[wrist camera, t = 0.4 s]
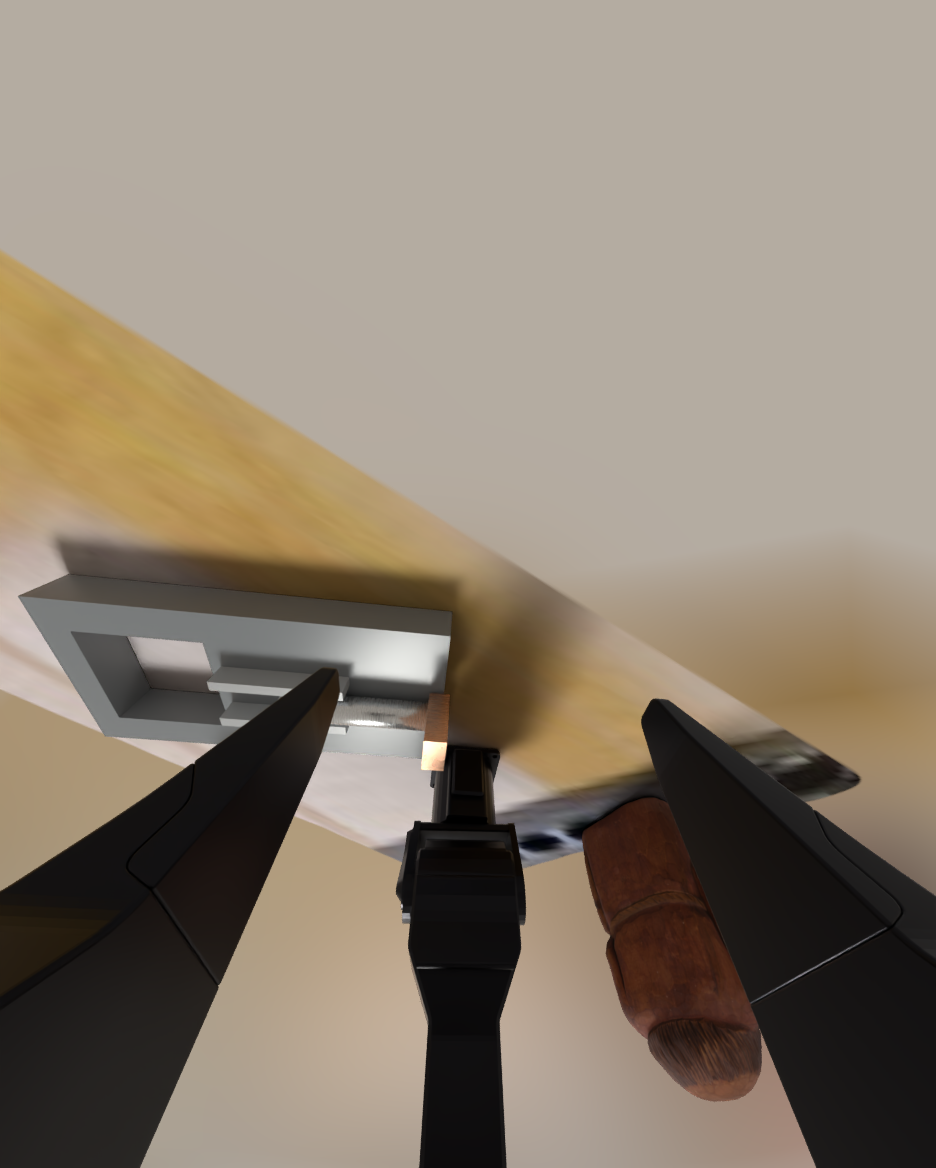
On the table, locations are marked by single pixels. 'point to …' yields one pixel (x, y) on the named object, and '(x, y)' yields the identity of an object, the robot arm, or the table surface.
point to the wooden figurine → (670, 953)
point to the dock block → (237, 656)
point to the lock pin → (402, 720)
